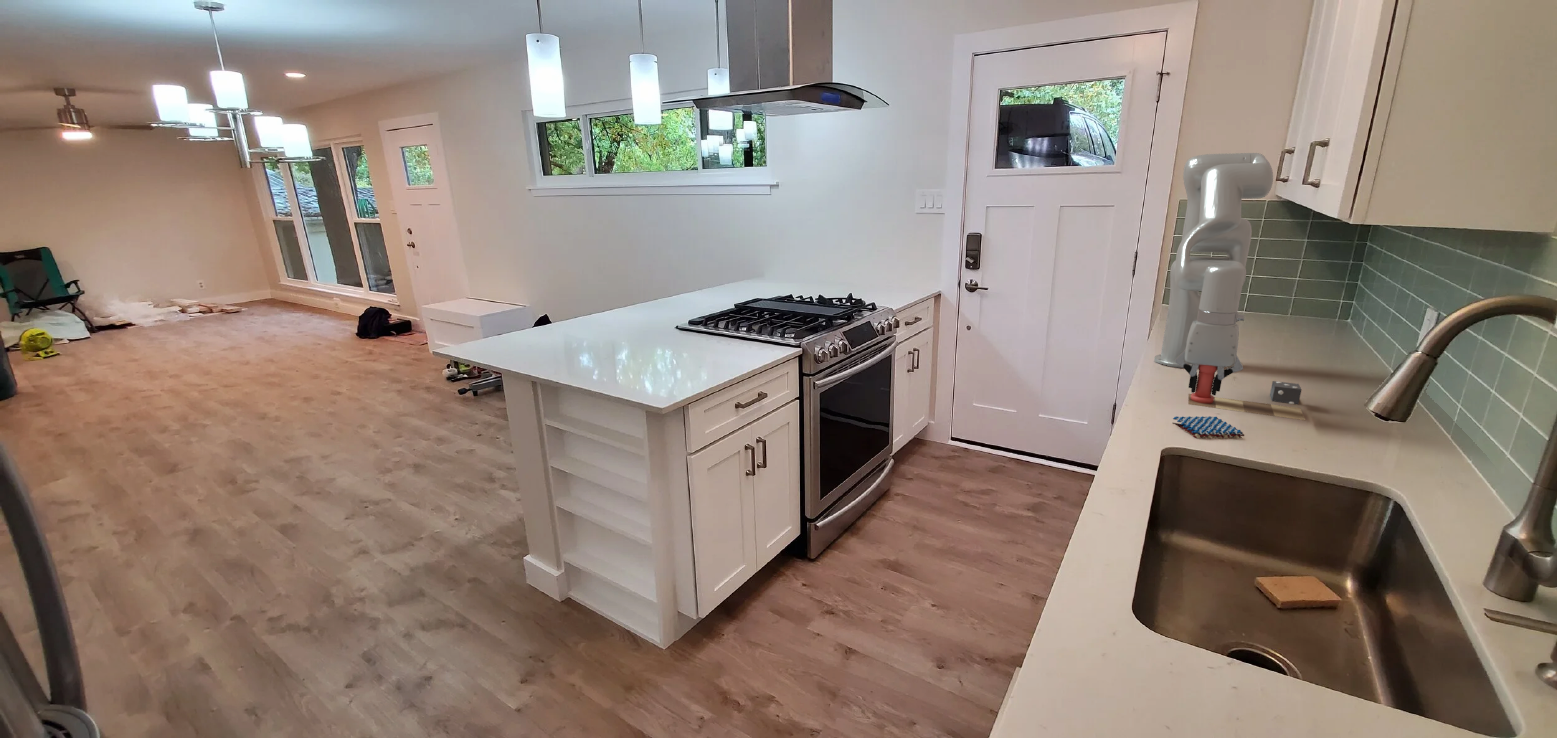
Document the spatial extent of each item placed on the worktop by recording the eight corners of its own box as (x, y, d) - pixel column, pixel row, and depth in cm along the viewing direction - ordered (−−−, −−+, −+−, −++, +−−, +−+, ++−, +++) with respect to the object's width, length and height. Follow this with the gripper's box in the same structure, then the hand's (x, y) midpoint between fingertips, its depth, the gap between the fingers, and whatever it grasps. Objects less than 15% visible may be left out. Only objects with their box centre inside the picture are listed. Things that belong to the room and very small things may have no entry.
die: (1268, 400, 156) (1272, 380, 155) (1294, 403, 154) (1298, 383, 152) (1270, 406, 152) (1275, 386, 150) (1297, 409, 149) (1301, 389, 148)
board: (1187, 398, 158) (1188, 393, 158) (1298, 412, 147) (1300, 408, 147) (1187, 408, 151) (1188, 404, 151) (1304, 425, 140) (1305, 420, 139)
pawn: (1190, 396, 156) (1197, 356, 153) (1212, 399, 154) (1220, 358, 151) (1190, 401, 152) (1197, 360, 149) (1213, 404, 150) (1221, 363, 147)
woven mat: (1246, 441, 133) (1248, 432, 133) (1194, 441, 134) (1196, 432, 133) (1215, 423, 143) (1217, 415, 143) (1167, 423, 144) (1169, 415, 143)
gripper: (1259, 318, 146) (1244, 393, 151) (1175, 312, 155) (1163, 383, 160) (1261, 324, 140) (1246, 402, 145) (1174, 317, 148) (1162, 391, 154)
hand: (1203, 391), depth 152 cm, fingers open, 3 cm apart
